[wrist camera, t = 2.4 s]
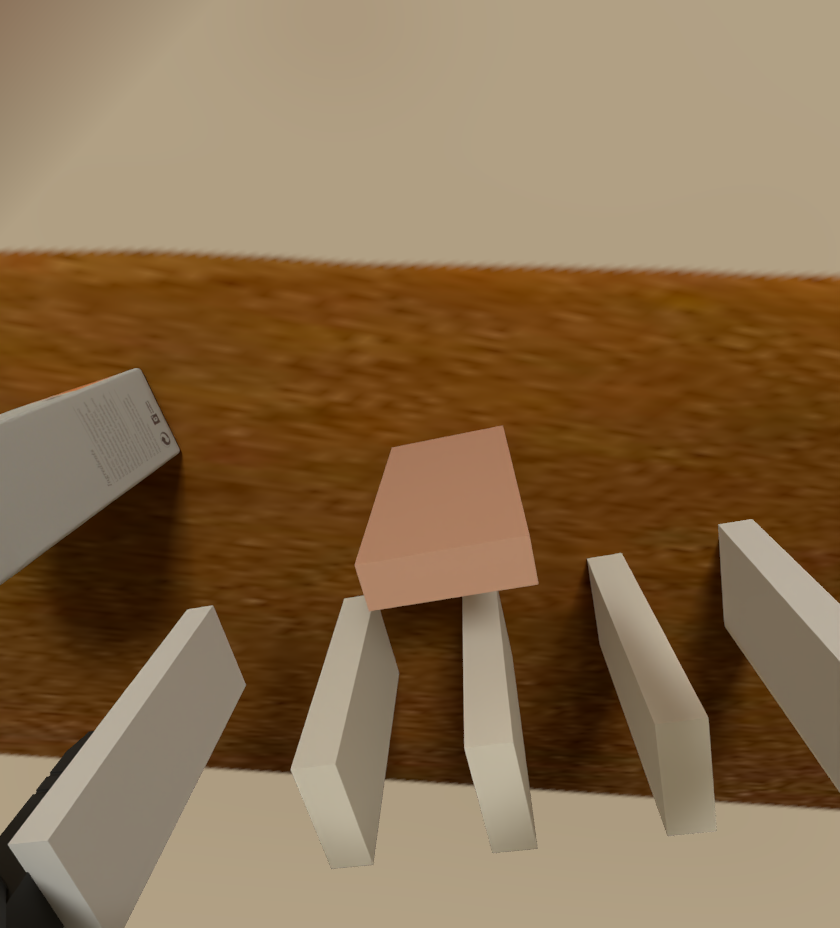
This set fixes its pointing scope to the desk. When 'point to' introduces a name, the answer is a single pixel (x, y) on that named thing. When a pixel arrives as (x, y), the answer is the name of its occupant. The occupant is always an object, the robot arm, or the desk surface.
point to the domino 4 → (655, 699)
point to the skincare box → (74, 461)
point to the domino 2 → (446, 523)
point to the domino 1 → (349, 737)
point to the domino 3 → (495, 726)
